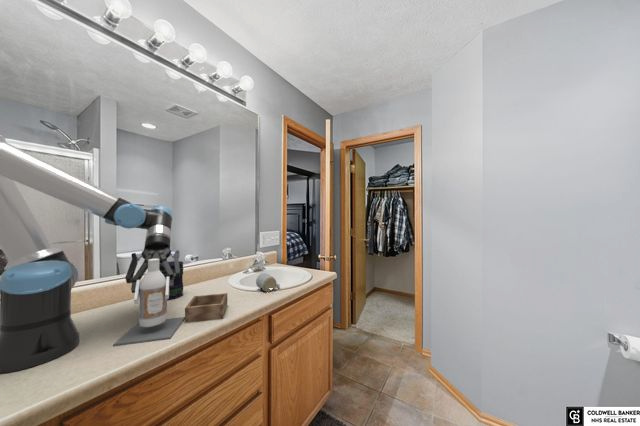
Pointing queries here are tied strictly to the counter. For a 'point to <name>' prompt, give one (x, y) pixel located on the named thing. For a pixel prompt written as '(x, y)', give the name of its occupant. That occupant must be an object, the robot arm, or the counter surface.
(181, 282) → the storage jar
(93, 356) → the counter surface
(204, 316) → the wooden tray
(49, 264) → the robot arm
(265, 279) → the ceramic mug
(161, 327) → the rubber mat
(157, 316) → the bath foam
